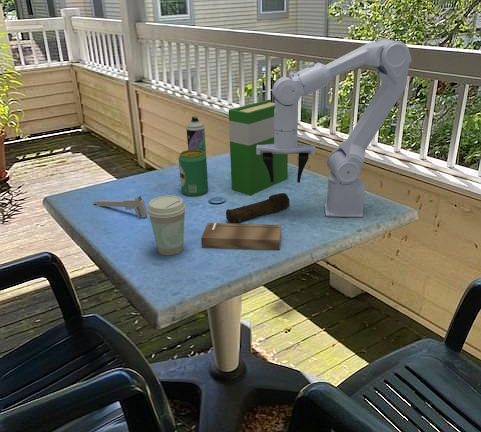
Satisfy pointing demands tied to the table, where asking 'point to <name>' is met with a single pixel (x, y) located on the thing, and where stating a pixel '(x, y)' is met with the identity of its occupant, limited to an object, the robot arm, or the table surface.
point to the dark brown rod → (258, 208)
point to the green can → (193, 172)
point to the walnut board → (241, 236)
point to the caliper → (126, 205)
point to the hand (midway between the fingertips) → (285, 181)
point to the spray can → (196, 135)
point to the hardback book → (253, 148)
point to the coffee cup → (168, 223)
